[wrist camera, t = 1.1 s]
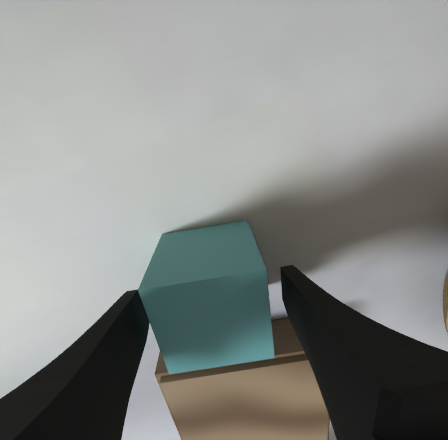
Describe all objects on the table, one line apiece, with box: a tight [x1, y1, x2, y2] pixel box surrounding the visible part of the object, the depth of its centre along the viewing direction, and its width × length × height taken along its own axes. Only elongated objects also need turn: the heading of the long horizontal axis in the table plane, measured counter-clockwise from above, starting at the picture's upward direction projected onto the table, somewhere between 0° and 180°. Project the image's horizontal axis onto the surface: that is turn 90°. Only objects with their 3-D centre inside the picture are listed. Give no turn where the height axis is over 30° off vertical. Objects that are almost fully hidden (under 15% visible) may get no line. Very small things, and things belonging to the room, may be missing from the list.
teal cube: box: [138, 220, 275, 374], centre depth 12 cm, size 5×5×5 cm
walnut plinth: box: [155, 318, 330, 440], centre depth 17 cm, size 11×11×3 cm
